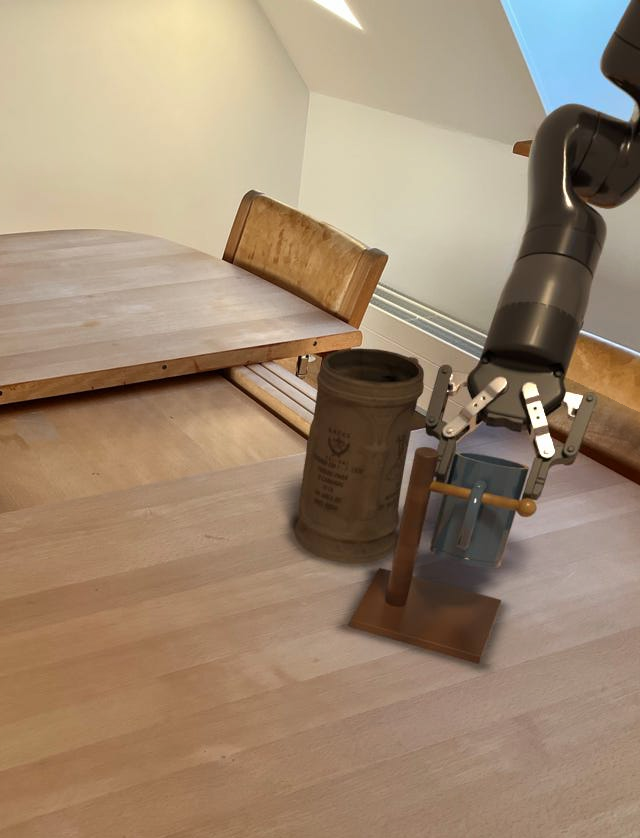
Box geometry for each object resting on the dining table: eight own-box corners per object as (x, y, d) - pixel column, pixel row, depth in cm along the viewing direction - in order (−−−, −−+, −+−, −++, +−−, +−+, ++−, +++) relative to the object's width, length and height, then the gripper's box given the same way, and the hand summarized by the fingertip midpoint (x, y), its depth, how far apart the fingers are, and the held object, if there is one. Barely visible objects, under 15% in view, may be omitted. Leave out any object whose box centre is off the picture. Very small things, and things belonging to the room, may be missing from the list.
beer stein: (372, 582, 97) (413, 388, 86) (274, 552, 101) (302, 363, 90) (417, 526, 108) (459, 348, 97) (328, 500, 112) (358, 327, 101)
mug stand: (506, 614, 93) (554, 453, 83) (486, 672, 86) (536, 504, 76) (376, 580, 98) (407, 422, 87) (347, 632, 90) (377, 467, 80)
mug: (435, 542, 93) (460, 449, 90) (503, 559, 91) (531, 464, 88) (417, 561, 84) (445, 458, 81) (492, 580, 82) (523, 476, 79)
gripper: (457, 286, 86) (400, 459, 84) (628, 313, 81) (571, 497, 80) (457, 327, 93) (404, 487, 91) (615, 355, 88) (562, 524, 87)
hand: (482, 491), depth 86 cm, fingers open, 7 cm apart
